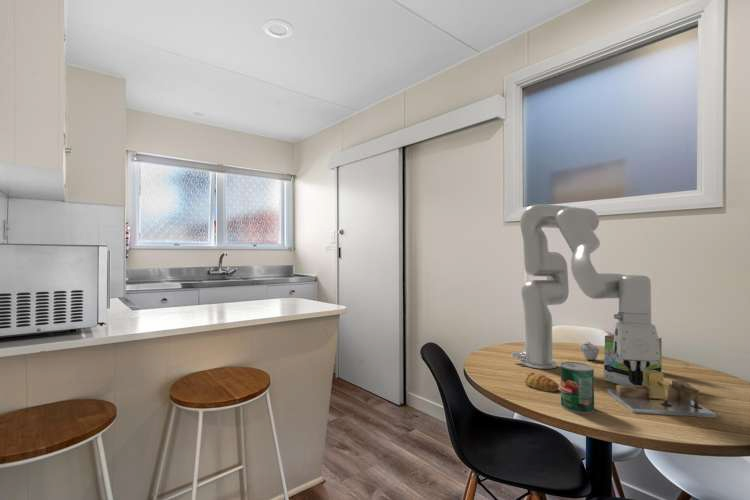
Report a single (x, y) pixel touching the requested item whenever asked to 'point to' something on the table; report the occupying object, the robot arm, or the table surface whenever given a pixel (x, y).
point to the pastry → (541, 382)
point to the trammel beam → (677, 391)
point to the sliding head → (655, 385)
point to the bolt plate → (662, 406)
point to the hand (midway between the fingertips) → (635, 383)
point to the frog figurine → (589, 350)
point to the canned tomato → (577, 387)
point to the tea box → (618, 370)
